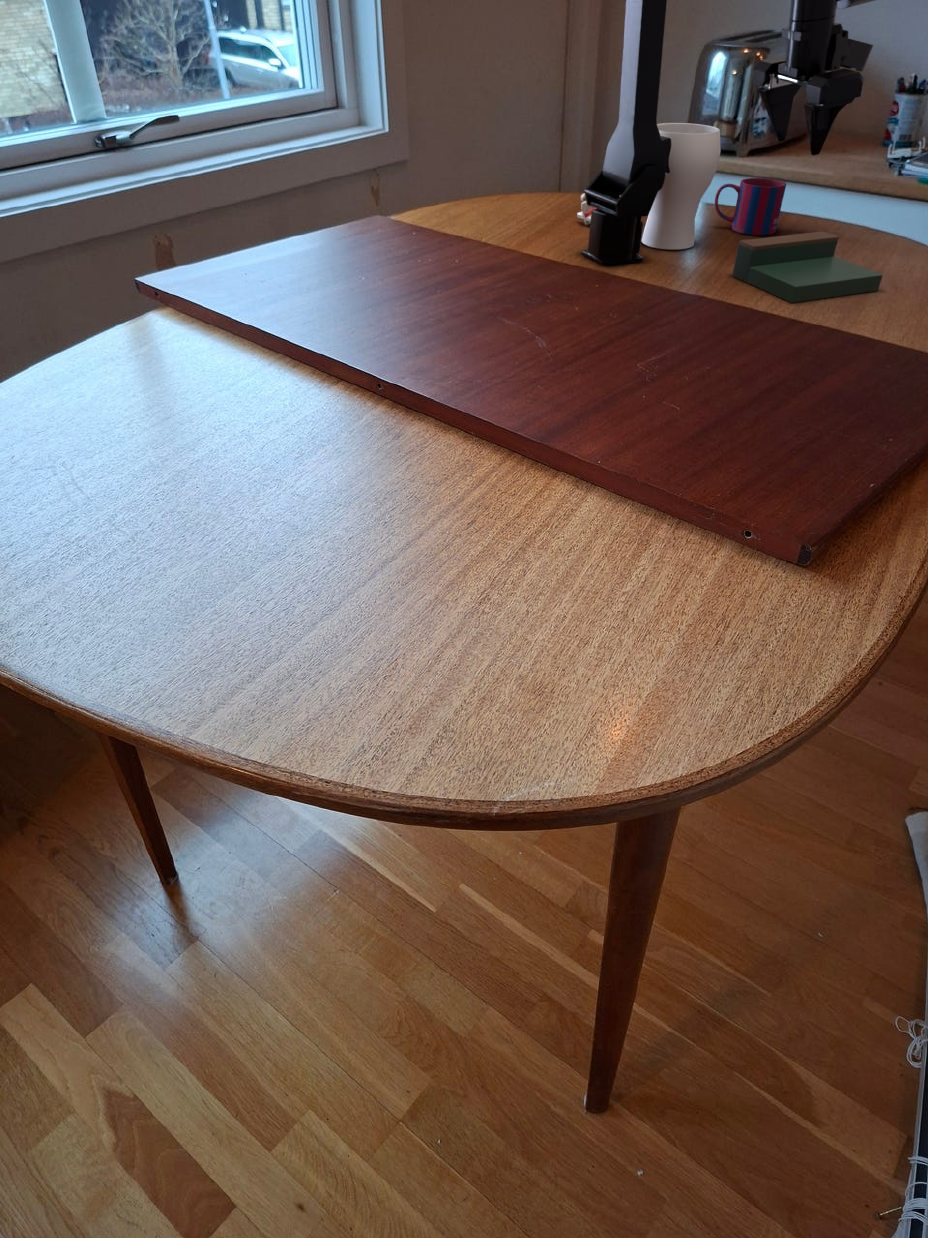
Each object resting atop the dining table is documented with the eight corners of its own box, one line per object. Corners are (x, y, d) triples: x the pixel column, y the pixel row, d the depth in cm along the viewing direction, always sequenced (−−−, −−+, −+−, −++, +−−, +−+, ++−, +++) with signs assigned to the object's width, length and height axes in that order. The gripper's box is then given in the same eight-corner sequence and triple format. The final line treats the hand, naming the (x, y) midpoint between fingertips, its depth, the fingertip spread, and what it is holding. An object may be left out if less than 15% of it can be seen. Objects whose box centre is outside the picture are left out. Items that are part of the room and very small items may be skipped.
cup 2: (773, 237, 130) (784, 188, 125) (707, 230, 132) (716, 182, 128) (777, 227, 135) (787, 179, 130) (713, 220, 137) (721, 174, 133)
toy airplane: (635, 218, 138) (641, 174, 134) (626, 232, 131) (632, 186, 127) (580, 213, 140) (584, 170, 136) (568, 226, 133) (572, 181, 129)
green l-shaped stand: (791, 303, 105) (800, 265, 102) (732, 275, 114) (739, 240, 111) (878, 290, 109) (889, 254, 107) (814, 265, 118) (823, 230, 115)
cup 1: (617, 241, 126) (630, 126, 117) (660, 230, 132) (676, 119, 123) (675, 257, 120) (694, 137, 111) (718, 244, 126) (739, 129, 117)
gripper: (913, 11, 105) (888, 149, 116) (829, -2, 119) (814, 123, 130) (830, 29, 104) (813, 166, 115) (755, 14, 118) (746, 138, 129)
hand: (797, 147), depth 122 cm, fingers open, 9 cm apart
